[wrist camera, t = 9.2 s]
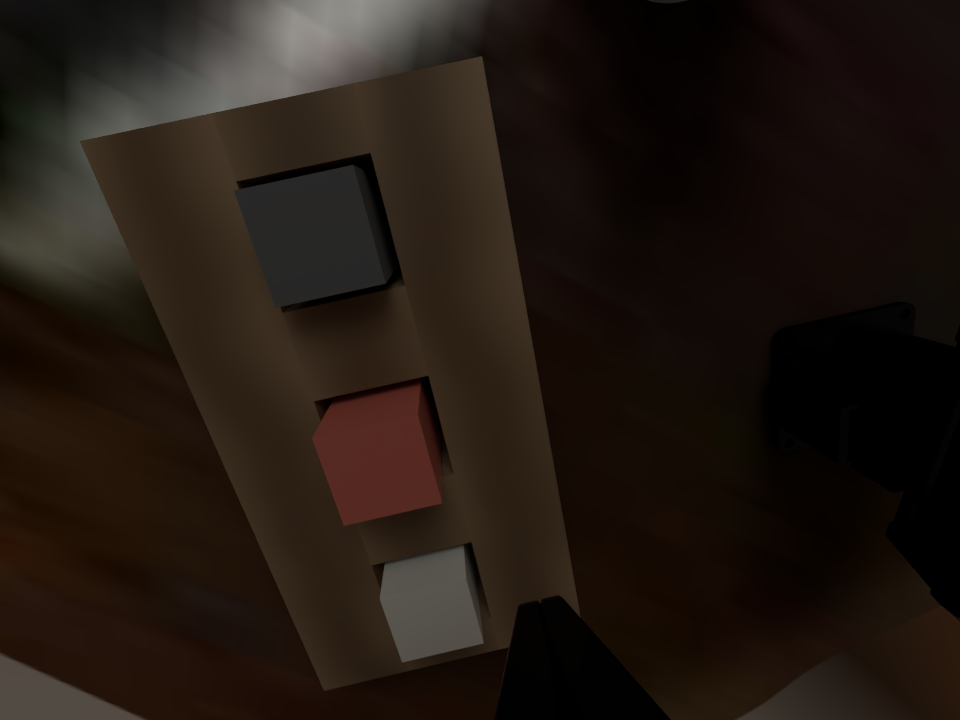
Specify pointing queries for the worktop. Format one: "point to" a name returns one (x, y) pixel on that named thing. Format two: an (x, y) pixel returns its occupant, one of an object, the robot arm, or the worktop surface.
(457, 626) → the plug white
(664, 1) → the supplement bottle
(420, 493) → the plug red
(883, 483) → the robot arm
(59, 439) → the worktop surface
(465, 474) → the block
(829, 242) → the worktop surface
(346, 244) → the gray rectangular block
